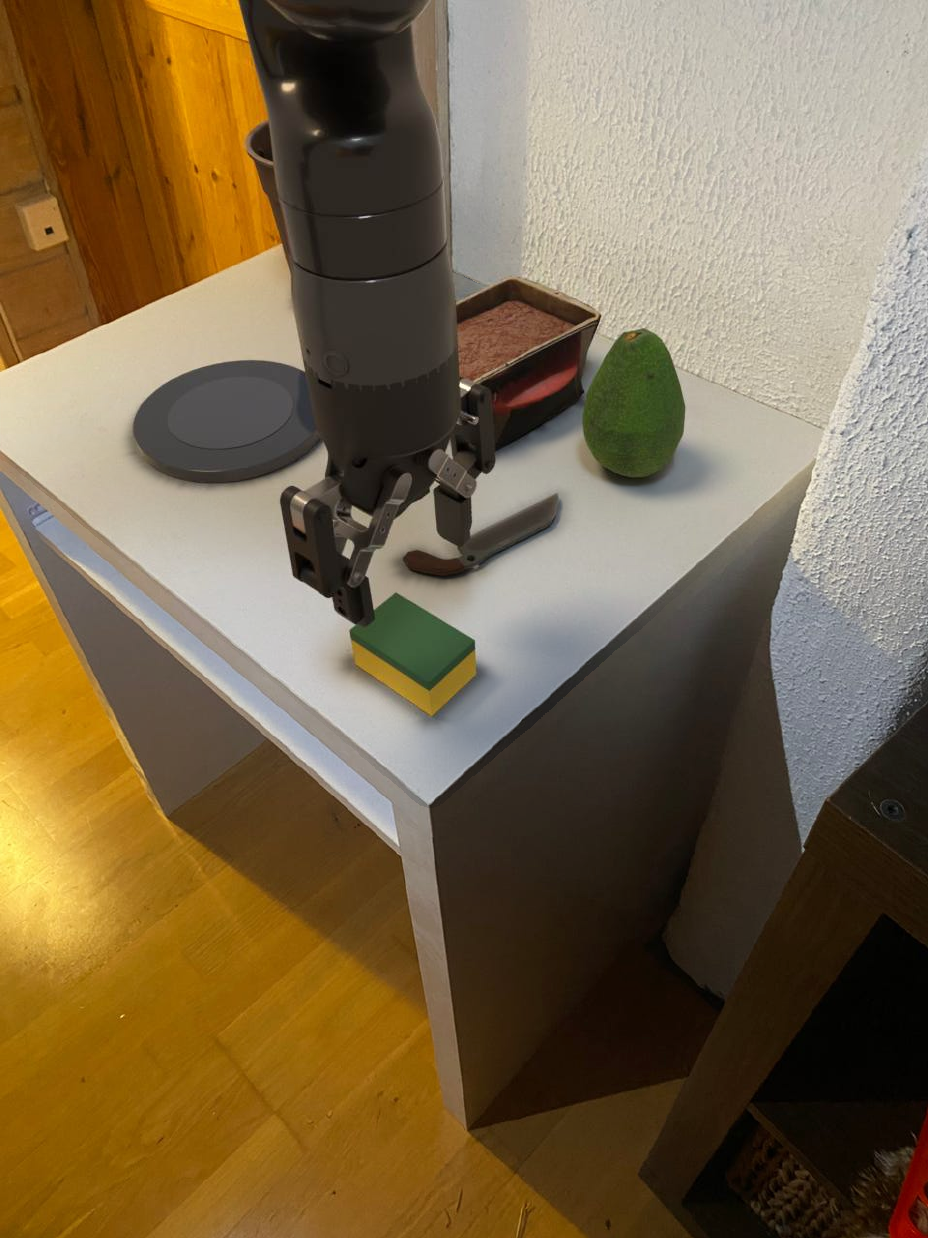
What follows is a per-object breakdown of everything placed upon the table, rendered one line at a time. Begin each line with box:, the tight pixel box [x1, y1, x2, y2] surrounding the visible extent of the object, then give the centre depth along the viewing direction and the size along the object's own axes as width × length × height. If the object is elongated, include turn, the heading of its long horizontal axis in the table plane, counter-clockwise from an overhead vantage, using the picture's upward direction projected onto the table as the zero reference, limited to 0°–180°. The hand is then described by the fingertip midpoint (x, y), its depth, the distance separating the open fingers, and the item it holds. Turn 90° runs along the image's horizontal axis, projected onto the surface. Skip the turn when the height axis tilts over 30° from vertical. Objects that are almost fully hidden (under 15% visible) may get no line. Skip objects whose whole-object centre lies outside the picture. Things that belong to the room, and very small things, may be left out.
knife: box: [402, 492, 560, 576], centre depth 70 cm, size 14×4×1 cm, turn 125°
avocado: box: [581, 327, 686, 478], centre depth 72 cm, size 8×8×12 cm
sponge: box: [349, 592, 477, 717], centre depth 61 cm, size 4×7×4 cm, turn 50°
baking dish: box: [456, 275, 603, 452], centre depth 81 cm, size 14×18×10 cm
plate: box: [132, 359, 322, 484], centre depth 82 cm, size 17×17×1 cm
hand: (407, 577), depth 56 cm, fingers open, 8 cm apart
